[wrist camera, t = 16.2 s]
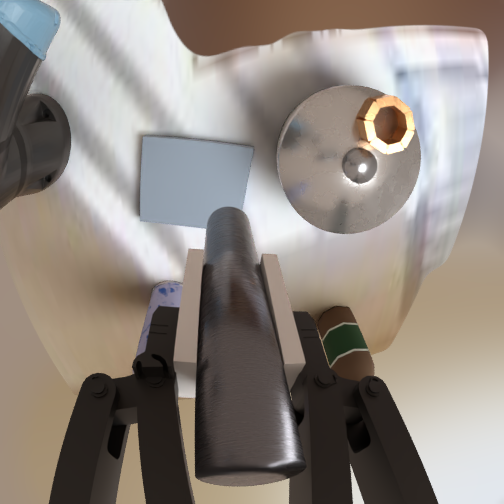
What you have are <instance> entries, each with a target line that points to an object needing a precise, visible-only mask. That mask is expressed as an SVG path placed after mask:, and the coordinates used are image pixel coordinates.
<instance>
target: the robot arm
mask: <svg viewBox="0 0 504 504" xmlns="http://www.w3.org/2000/svg"><path fill="white" fill-rule="evenodd" d="M59 26H60V15H59V12H58V11H57V10H56V9H54V8H53V7H51V6H49V5H47V4H45V3H43V2H41V1H39V0H0V209H2V208H3V207H4V206H5V205H6V204H8V203H9V202H10V201H11V200H13V199H14V198H15V197H19V196H24V195H29V194H34V193H38V192H41V191H43V190H45V189H46V188H47V187H49V186H50V185H52V184H53V183H54V182H55V181H56V180H57V179H58V178H59V177H60V176H61V174H62V173H63V171H64V169H65V167H66V165H67V162H68V159H69V155H70V149H71V133H70V127H69V123H68V120H67V117H66V115H65V113H64V111H63V109H62V108H61V106H60V105H59V104H58V103H57V102H56V101H55V100H54V99H52V98H51V97H49V96H47V95H43V94H33V95H28V96H26V95H27V93H28V91H29V88H30V86H31V84H32V81H33V79H34V77H35V75H36V73H37V71H38V69H39V67H40V65H41V63H42V61H44V60H45V58H46V52H47V50H48V48H49V46H50V44H51V42H52V40H53V38H54V36H55V34H56V32H57V30H58V28H59ZM203 256H204V250H201V249H189V250H188V256H187V262H186V268H185V274H184V281H183V288H182V294H181V302H180V307H168V306H159V307H158V308H157V309H156V310H155V312H154V313H153V315H152V319H151V325H150V329H149V334H148V339H147V344H146V349H145V352H143V353H141V354H140V355H138V356H137V357H136V358H135V360H134V361H133V365H132V368H133V371H134V374H132V375H131V376H127V377H122V378H115V379H112V378H111V377H110V376H108V375H106V374H103V373H95V374H92V375H90V376H89V377H87V378H86V379H85V381H84V382H83V384H82V387H81V389H80V392H79V395H78V398H77V401H76V403H75V406H74V410H73V412H72V415H71V418H70V422H69V425H68V428H67V431H66V435H65V439H64V441H63V445H62V449H61V452H60V456H59V460H58V464H57V468H56V472H55V476H54V481H53V485H52V490H51V495H50V500H49V504H116V497H117V491H118V484H119V479H120V473H121V468H122V463H123V457H124V453H125V448H126V443H127V438H128V433H129V429H130V425H131V424H134V423H138V437H139V450H140V460H141V469H142V478H143V486H144V493H145V499H146V504H195V501H194V496H193V492H192V487H191V483H190V477H189V472H188V466H187V461H186V455H185V449H184V442H183V436H182V429H181V422H180V415H179V407H178V396H179V397H187V398H195V393H196V370H197V348H198V329H199V312H200V298H201V284H202V272H203ZM260 269H261V273H262V277H263V281H264V285H265V290H266V294H267V298H268V302H269V307H270V311H271V315H272V319H273V324H274V328H275V332H276V336H277V340H278V345H279V349H280V353H281V358H282V362H283V366H284V370H285V375H286V379H287V383H288V387H289V392H291V397H292V405H293V409H294V413H295V418H296V422H297V426H298V431H299V435H300V439H301V444H302V448H303V452H304V457H305V461H306V465H307V467H306V469H305V470H304V471H303V472H301V473H300V474H298V475H296V476H293V477H291V478H290V483H289V487H290V488H289V504H353V500H352V483H351V471H350V464H351V466H352V469H353V472H354V475H355V478H356V480H357V483H358V486H359V489H360V492H361V495H362V498H363V500H364V503H365V504H438V501H437V499H436V496H435V493H434V491H433V488H432V486H431V483H430V481H429V478H428V476H427V473H426V471H425V469H424V466H423V464H422V461H421V459H420V457H419V455H418V452H417V450H416V447H415V445H414V443H413V441H412V439H411V436H410V434H409V432H408V430H407V428H406V425H405V423H404V421H403V419H402V417H401V415H400V413H399V410H398V408H397V406H396V404H395V402H394V400H393V398H392V396H391V394H390V392H389V390H388V388H387V386H386V384H385V383H384V382H383V380H381V379H380V378H378V377H376V376H373V375H372V376H366V377H364V378H362V379H361V381H356V380H350V379H345V378H342V377H340V376H338V375H337V373H336V372H335V371H334V370H332V369H330V367H329V365H328V362H327V359H326V356H325V353H324V350H323V346H322V343H321V340H320V338H319V334H318V331H317V328H316V325H315V322H314V319H313V318H312V317H311V316H310V315H309V313H308V312H294V311H292V309H291V305H290V301H289V297H288V294H287V290H286V286H285V283H284V279H283V276H282V272H281V268H280V265H279V261H278V258H277V255H276V254H262V257H261V262H260Z"/></svg>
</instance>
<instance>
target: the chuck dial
mask: <svg viewBox="0 0 504 504" xmlns="http://www.w3.org/2000/svg"><path fill="white" fill-rule="evenodd" d="M420 161H421V151H420V143H419V138H418V135H417V131H416V129H415V126H414V121H413V115H412V111H410V108H409V107H408V106H407V105H406V104H405V103H403V102H402V101H401V100H400V99H398V98H397V97H395V96H391V95H386V94H384V93H382V92H380V91H378V90H375V89H372V88H369V87H363V86H354V85H341V86H334V87H330V88H327V89H323V90H321V91H319V92H317V93H315V94H313V95H311V96H310V97H308V98H307V99H306V100H304V101H303V102H302V103H301V104H300V105H299V106H298V107H297V108H296V109H295V110H294V111H293V113H292V114H291V115H290V117H289V118H288V120H287V122H286V123H285V125H284V128H283V130H282V132H281V135H280V138H279V142H278V148H277V171H278V176H279V179H280V183H281V185H282V188H283V190H284V192H285V194H286V196H287V198H288V200H289V202H290V203H291V205H292V206H293V208H294V209H295V210H296V211H297V213H298V214H299V215H300V216H301V217H302V218H304V219H305V220H306V221H308V222H309V223H310V224H312V225H314V226H316V227H317V228H319V229H322V230H325V231H328V232H333V233H340V234H353V233H359V232H363V231H367V230H370V229H372V228H375V227H377V226H379V225H381V224H382V223H384V222H386V221H387V220H388V219H390V218H391V217H392V216H393V215H395V214H396V213H397V212H398V211H399V210H400V209H401V207H402V206H403V205H404V204H405V202H406V201H407V200H408V198H409V196H410V195H411V193H412V191H413V189H414V186H415V184H416V181H417V178H418V175H419V170H420Z"/></svg>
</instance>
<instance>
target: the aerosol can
mask: <svg viewBox="0 0 504 504" xmlns="http://www.w3.org/2000/svg"><path fill="white" fill-rule="evenodd" d="M182 288H183V284H182V283H179V282H175V281H164V282H161V283H159V284H157V285H156V286H155V287H154V288H153V290H152V293H151V300H150V303H149V307H148V311H147V314H146V318H145V322H144V326H143V329H142V333H141V337H140V341H139V345H138V349H137V354H136V357H137V356H138V355H140V354H141V353H143V352H145V349H146V344H147V339H148V334H149V329H150V325H151V319H152V315H153V313H154V312H155V310H156V309H157V308H158V307H159V306H168V307H180V302H181V294H182ZM133 374H134V371H133Z"/></svg>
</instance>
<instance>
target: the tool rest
mask: <svg viewBox="0 0 504 504" xmlns="http://www.w3.org/2000/svg"><path fill="white" fill-rule="evenodd" d="M253 151H254V147H251V146H245V145H238V144H231V143H224V142H216V141H208V140H199V139H190V138H179V137H167V136H153V135H145V136H143V143H142V159H141V183H140V221H144V222H153V223H162V224H171V225H180V226H189V227H197V228H207V221H208V219H209V217H210V215H211V214H212V213H213V212H214V211H215V210H217V209H219V208H222V207H227V206H230V207H236V208H238V209H240V210H242V208H243V203H244V198H245V193H246V187H247V182H248V177H249V172H250V167H251V161H252V156H253Z"/></svg>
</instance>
